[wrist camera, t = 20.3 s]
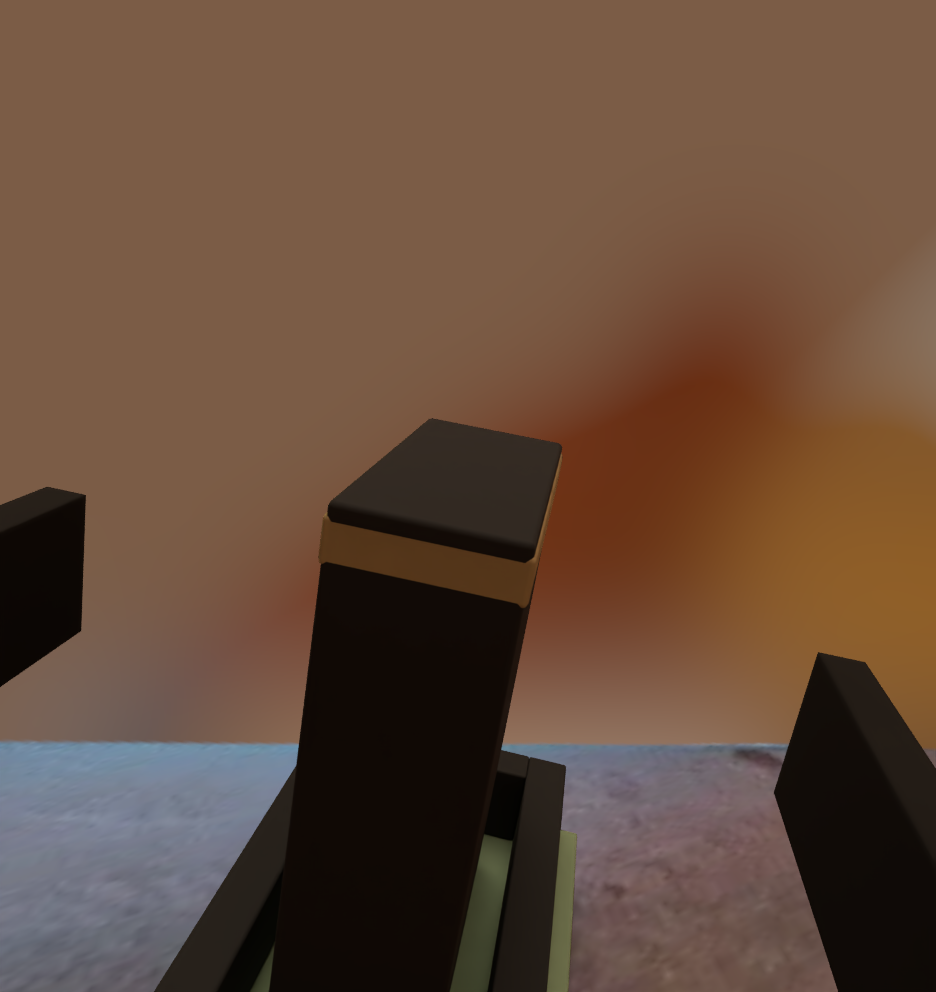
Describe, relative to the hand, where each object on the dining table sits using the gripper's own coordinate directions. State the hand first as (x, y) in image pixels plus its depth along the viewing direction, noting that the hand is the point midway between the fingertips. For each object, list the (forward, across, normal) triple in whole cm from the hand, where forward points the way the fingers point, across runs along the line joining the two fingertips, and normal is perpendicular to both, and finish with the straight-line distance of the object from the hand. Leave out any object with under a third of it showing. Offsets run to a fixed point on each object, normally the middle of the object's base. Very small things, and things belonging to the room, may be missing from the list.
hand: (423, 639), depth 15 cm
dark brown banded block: (+1, 0, -8) cm, 8 cm away
